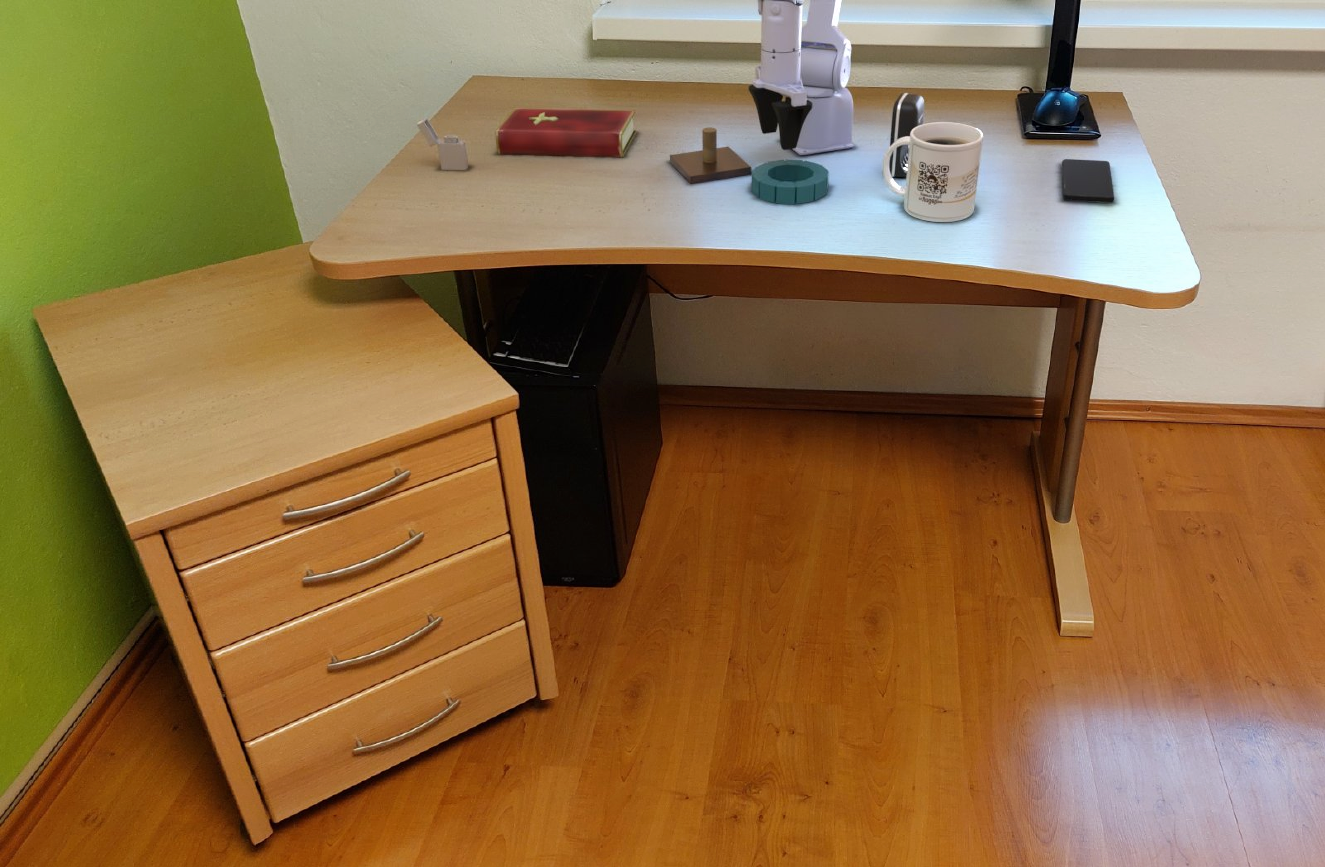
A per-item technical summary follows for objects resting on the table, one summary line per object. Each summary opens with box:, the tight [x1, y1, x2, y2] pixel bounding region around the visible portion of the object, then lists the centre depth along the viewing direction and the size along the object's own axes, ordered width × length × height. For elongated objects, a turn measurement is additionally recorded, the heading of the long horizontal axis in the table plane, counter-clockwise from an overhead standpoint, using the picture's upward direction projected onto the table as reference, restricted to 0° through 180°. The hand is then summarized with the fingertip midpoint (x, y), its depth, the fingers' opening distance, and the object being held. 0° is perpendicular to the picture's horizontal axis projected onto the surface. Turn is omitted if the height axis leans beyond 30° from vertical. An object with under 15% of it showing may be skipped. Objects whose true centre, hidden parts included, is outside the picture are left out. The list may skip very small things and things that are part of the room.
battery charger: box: [889, 92, 925, 178], centre depth 171 cm, size 7×4×11 cm, turn 159°
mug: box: [881, 121, 984, 223], centre depth 160 cm, size 10×12×11 cm
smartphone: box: [1061, 158, 1115, 203], centre depth 167 cm, size 7×1×15 cm
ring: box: [751, 159, 830, 205], centre depth 169 cm, size 11×11×3 cm
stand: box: [669, 127, 752, 185], centre depth 177 cm, size 10×10×6 cm
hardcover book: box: [494, 107, 637, 158], centre depth 189 cm, size 12×21×4 cm, turn 80°
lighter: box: [416, 117, 469, 171], centre depth 180 cm, size 7×2×8 cm, turn 81°
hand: (778, 140), depth 170 cm, fingers open, 7 cm apart
